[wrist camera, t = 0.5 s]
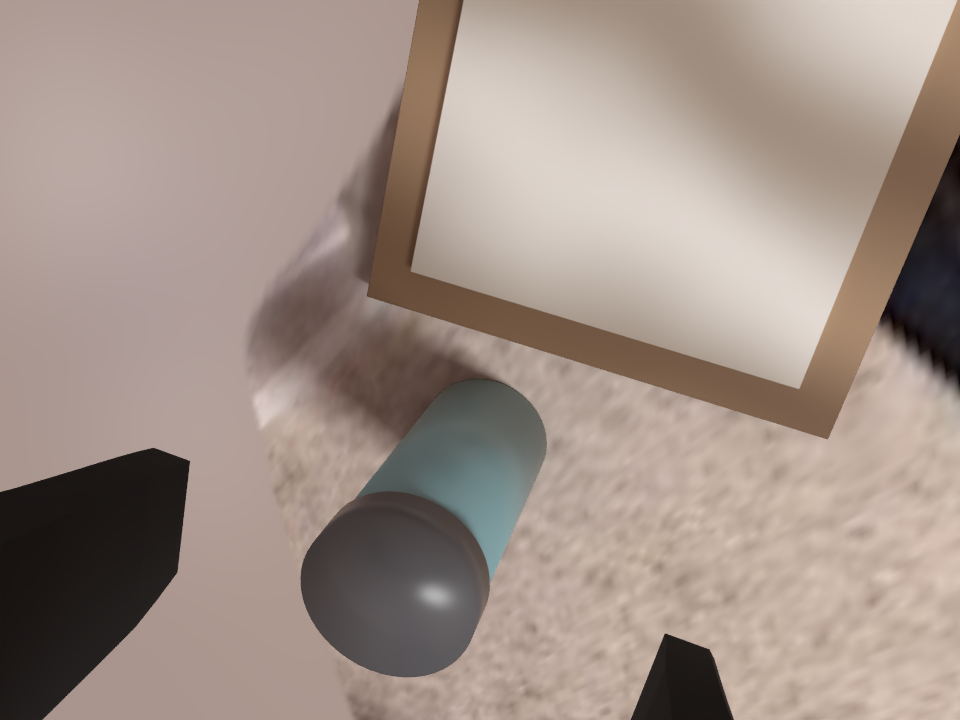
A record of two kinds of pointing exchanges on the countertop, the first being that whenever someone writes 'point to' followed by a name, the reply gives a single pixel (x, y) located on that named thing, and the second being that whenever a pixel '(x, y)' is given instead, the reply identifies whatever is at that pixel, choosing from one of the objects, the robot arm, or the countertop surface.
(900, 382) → the countertop surface
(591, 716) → the countertop surface
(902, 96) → the clipboard
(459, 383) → the tumbler
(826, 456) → the countertop surface
